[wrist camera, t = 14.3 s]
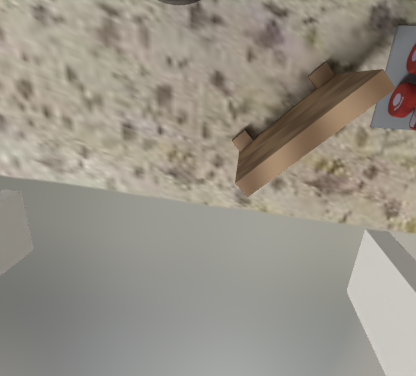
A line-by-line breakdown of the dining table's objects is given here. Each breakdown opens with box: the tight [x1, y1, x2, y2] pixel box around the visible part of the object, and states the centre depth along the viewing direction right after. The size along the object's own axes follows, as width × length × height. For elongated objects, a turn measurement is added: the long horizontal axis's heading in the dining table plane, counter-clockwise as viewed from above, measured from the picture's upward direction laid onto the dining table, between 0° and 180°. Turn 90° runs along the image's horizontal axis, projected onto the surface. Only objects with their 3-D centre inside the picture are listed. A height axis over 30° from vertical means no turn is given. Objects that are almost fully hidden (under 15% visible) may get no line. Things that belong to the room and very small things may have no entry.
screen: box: [232, 63, 396, 197], centre depth 32 cm, size 16×6×14 cm, turn 132°
